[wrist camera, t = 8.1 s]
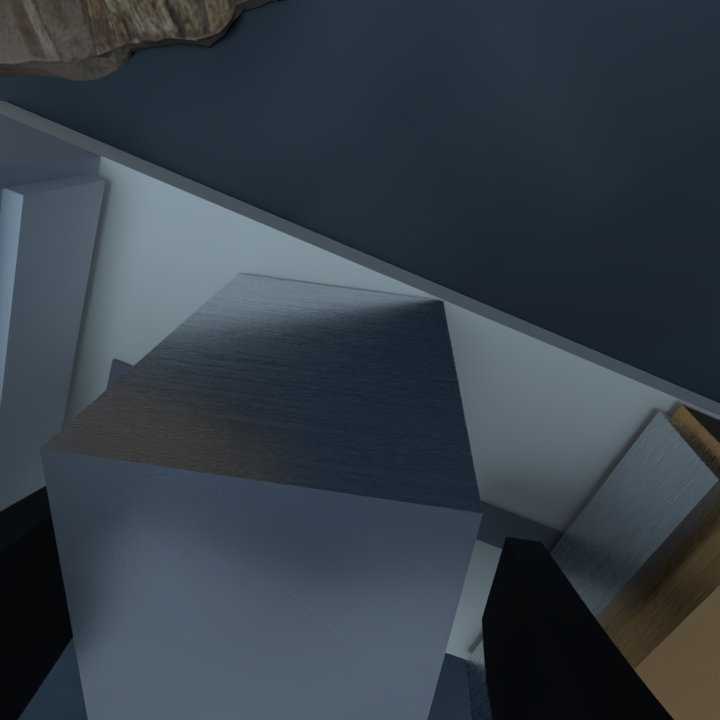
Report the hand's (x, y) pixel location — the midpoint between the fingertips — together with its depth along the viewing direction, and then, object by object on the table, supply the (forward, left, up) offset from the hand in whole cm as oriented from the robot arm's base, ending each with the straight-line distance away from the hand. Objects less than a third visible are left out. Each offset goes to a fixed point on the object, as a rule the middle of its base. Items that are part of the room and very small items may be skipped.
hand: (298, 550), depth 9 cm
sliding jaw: (-7, 0, -2) cm, 7 cm away
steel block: (0, 0, -3) cm, 3 cm away
